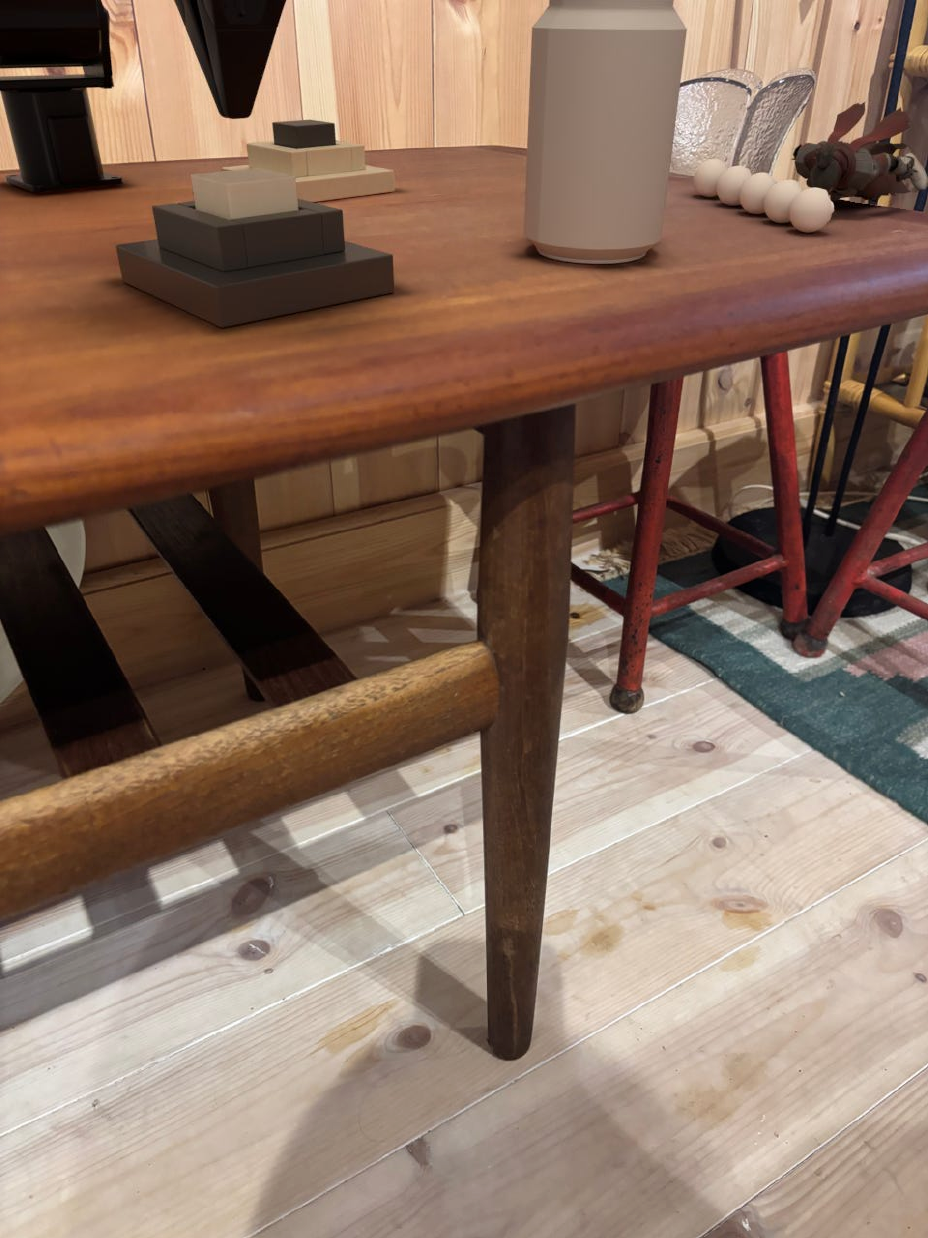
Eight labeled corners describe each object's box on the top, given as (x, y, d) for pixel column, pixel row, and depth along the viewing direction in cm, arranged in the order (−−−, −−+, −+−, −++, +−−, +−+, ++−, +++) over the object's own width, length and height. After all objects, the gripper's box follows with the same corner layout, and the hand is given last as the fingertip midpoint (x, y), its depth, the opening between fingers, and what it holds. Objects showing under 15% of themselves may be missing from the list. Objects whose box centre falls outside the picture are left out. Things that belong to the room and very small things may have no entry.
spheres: (723, 156, 64) (715, 194, 65) (691, 155, 64) (684, 193, 65) (847, 191, 52) (835, 236, 53) (810, 189, 52) (798, 235, 53)
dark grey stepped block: (122, 281, 44) (106, 203, 42) (282, 255, 48) (275, 183, 46) (221, 328, 37) (208, 238, 35) (395, 292, 42) (392, 211, 40)
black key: (274, 149, 65) (271, 122, 64) (312, 146, 66) (310, 119, 65) (298, 154, 63) (295, 125, 62) (336, 150, 64) (334, 122, 63)
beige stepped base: (223, 188, 66) (217, 142, 65) (326, 176, 71) (323, 133, 69) (288, 205, 61) (283, 155, 59) (395, 191, 65) (393, 145, 64)
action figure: (821, 189, 70) (746, 204, 57) (840, 100, 67) (766, 94, 54) (931, 198, 67) (878, 216, 54) (956, 104, 64) (907, 99, 50)
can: (689, 256, 49) (726, -15, 42) (583, 274, 45) (606, -18, 38) (597, 232, 54) (617, -14, 47) (495, 246, 50) (502, -16, 44)
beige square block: (196, 216, 41) (190, 174, 40) (261, 207, 43) (257, 167, 42) (232, 227, 39) (227, 183, 38) (299, 218, 41) (295, 175, 40)
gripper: (-161, -396, 32) (-28, 111, 40) (22, -627, 20) (154, 157, 29) (140, -330, 38) (200, 99, 46) (416, -478, 26) (426, 132, 35)
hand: (235, 117), depth 39 cm, fingers closed
